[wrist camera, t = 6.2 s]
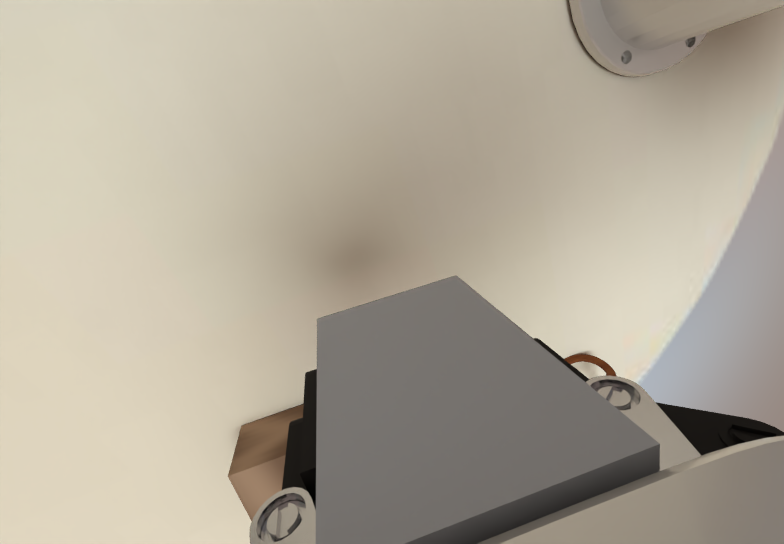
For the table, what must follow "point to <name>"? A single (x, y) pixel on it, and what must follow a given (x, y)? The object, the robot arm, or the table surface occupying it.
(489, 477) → the grey block
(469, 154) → the table surface
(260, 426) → the block
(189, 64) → the table surface
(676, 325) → the table surface
